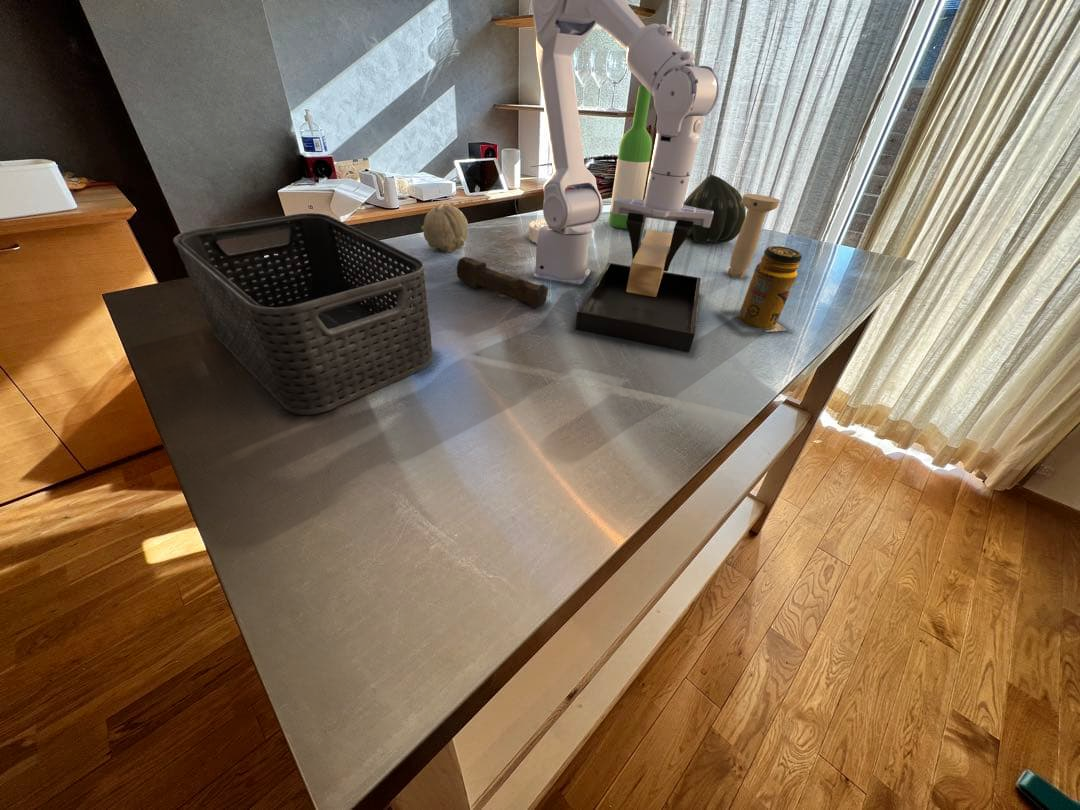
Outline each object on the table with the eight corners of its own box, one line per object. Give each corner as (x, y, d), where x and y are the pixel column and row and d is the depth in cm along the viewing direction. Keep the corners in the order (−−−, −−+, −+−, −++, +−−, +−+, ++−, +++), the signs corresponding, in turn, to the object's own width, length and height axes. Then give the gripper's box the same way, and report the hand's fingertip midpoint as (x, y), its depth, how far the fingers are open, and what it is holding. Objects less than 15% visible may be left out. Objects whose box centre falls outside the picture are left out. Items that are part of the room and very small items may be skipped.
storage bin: (445, 361, 59) (436, 263, 51) (300, 426, 47) (258, 312, 39) (338, 294, 74) (318, 209, 66) (207, 331, 62) (163, 233, 54)
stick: (626, 291, 65) (631, 262, 63) (642, 254, 79) (648, 229, 76) (655, 297, 64) (662, 267, 62) (667, 258, 78) (673, 233, 75)
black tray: (574, 331, 68) (577, 311, 66) (605, 279, 86) (607, 262, 84) (688, 354, 64) (694, 334, 62) (695, 295, 82) (700, 277, 80)
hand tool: (548, 305, 75) (550, 279, 72) (534, 312, 72) (536, 285, 70) (468, 276, 84) (467, 251, 81) (452, 281, 81) (451, 256, 78)
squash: (756, 230, 99) (755, 166, 100) (689, 229, 99) (689, 165, 101) (729, 256, 114) (728, 200, 115) (671, 255, 114) (671, 199, 115)
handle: (746, 283, 88) (774, 203, 79) (715, 274, 91) (739, 196, 82) (755, 277, 91) (783, 199, 82) (725, 268, 94) (749, 192, 85)
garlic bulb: (467, 259, 97) (482, 216, 91) (440, 263, 90) (454, 217, 84) (437, 237, 99) (449, 193, 93) (409, 239, 92) (420, 192, 87)
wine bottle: (607, 228, 114) (627, 85, 96) (608, 220, 120) (628, 84, 102) (637, 231, 113) (664, 87, 95) (637, 223, 119) (662, 86, 101)
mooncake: (532, 229, 109) (533, 214, 107) (580, 234, 108) (582, 219, 106) (524, 244, 100) (525, 228, 98) (577, 249, 99) (579, 233, 97)
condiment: (786, 331, 72) (819, 258, 65) (741, 334, 70) (769, 259, 63) (759, 311, 78) (786, 242, 70) (717, 313, 76) (740, 243, 69)
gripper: (614, 170, 61) (600, 267, 69) (723, 184, 58) (695, 283, 66) (623, 163, 66) (609, 253, 75) (723, 175, 63) (697, 267, 72)
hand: (650, 266), depth 71 cm, fingers closed on stick, 4 cm apart
